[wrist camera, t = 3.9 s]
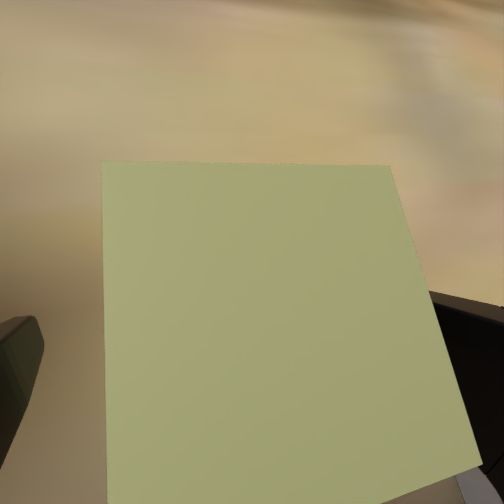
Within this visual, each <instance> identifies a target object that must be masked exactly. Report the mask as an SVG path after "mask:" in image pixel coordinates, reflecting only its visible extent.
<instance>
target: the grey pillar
mask: <svg viewBox="0 0 504 504" xmlns="http://www.w3.org/2000/svg"><path fill="white" fill-rule="evenodd" d="M455 477H456V479H457V482H458V485H459V488H460V490H461V493H462V496H463V498H464V501H465V504H503V502H502V500H501V498H500V497H499V495H498V493H497V492H496V490H495V489H494V487H493V486H492V484H491V483H490V482H489V480H488V479H487V478H486V475H484V474H483V473H482V472H481V470H480V469H479V468H478V467H474V468H472V469H469V470H467V471H464V472H462V473H459V474H456V475H455Z"/></svg>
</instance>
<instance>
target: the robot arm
mask: <svg viewBox="0 0 504 504" xmlns="http://www.w3.org/2000/svg"><path fill="white" fill-rule="evenodd" d="M429 294H430V297H431V300H432V304H433V307H434V310H435V313H436V316H437V320H438V323H439V326H440V329H441V332H442V336H443V339H444V342H445V345H446V348H447V351H448V355H449V358H450V361H451V364H452V367H453V371H454V374H455V377H456V380H457V383H458V387H459V390H460V393H461V396H462V399H463V402H464V406H465V409H466V412H467V415H468V418H469V422H470V425H471V428H472V431H473V434H474V438H475V441H476V444H477V447H478V450H479V453H480V457H481V460H482V463H483V464H482V465H480V466H477V467H478V468H479V469H480V470H481V472H482V473H483V474H484V475H486V478H487V479H488V480H489V482H490V483H491V484H492V486H493V487H494V489H495V490H496V492H497V493H498V495H499V497H500V498H501V500H502V502H503V504H504V307H503V306H501V307H499V306H496V305H492V304H487V303H483V302H478V301H474V300H469V299H465V298H460V297H455V296H451V295H446V294H442V293H437V292H433V291H429ZM43 352H44V339H43V336H42V334H41V331H40V328H39V325H38V322H37V320H36V318H35V317H34V316H32V315H29V316H20V317H14V318H11V319H9V320H7V321H5V322H3V323H1V324H0V469H1V467H2V464H3V462H4V460H5V457H6V455H7V453H8V450H9V448H10V446H11V443H12V441H13V439H14V437H15V434H16V432H17V430H18V427H19V425H20V423H21V420H22V418H23V416H24V413H25V411H26V408H27V406H28V403H29V400H30V397H31V394H32V391H33V387H34V384H35V380H36V377H37V373H38V370H39V366H40V363H41V359H42V356H43Z"/></svg>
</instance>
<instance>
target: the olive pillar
mask: <svg viewBox="0 0 504 504" xmlns="http://www.w3.org/2000/svg"><path fill="white" fill-rule="evenodd" d="M101 174H102V229H103V284H104V338H105V393H106V448H107V503H108V504H381V503H384V502H386V501H389V500H392V499H394V498H397V497H399V496H402V495H405V494H407V493H410V492H412V491H415V490H417V489H420V488H423V487H425V486H428V485H430V484H433V483H436V482H438V481H441V480H443V479H446V478H449V477H451V476H454V475H456V474H459V473H462V472H464V471H467V470H469V469H472V468H474V467H477V466H480V465H482V464H483V463H482V460H481V457H480V453H479V450H478V447H477V444H476V441H475V438H474V434H473V431H472V428H471V425H470V422H469V418H468V415H467V412H466V409H465V406H464V402H463V399H462V396H461V393H460V390H459V387H458V383H457V380H456V377H455V374H454V371H453V367H452V364H451V361H450V358H449V355H448V351H447V348H446V345H445V342H444V339H443V336H442V332H441V329H440V326H439V323H438V320H437V316H436V313H435V310H434V307H433V304H432V300H431V297H430V294H429V291H428V288H427V284H426V281H425V278H424V275H423V272H422V269H421V265H420V262H419V259H418V256H417V253H416V249H415V246H414V243H413V240H412V237H411V233H410V230H409V227H408V224H407V221H406V218H405V214H404V211H403V208H402V205H401V202H400V198H399V195H398V192H397V189H396V186H395V182H394V179H393V176H392V173H391V170H390V167H389V166H373V165H312V164H252V163H191V162H130V161H101Z"/></svg>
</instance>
